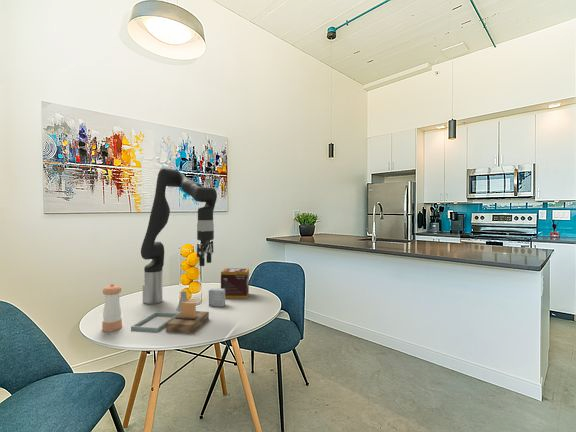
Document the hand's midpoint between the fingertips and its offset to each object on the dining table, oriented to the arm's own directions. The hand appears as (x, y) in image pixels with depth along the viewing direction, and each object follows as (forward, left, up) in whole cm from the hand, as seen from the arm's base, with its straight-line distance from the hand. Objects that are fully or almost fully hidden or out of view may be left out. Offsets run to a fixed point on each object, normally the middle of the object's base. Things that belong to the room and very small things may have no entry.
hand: (205, 264), depth 141 cm
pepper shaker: (-35, -16, -26) cm, 47 cm away
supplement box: (+2, +40, -26) cm, 48 cm away
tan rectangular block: (-3, -10, -25) cm, 27 cm away
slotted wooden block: (-3, -10, -26) cm, 28 cm away
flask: (-15, +9, -26) cm, 32 cm away
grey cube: (-2, +21, -26) cm, 34 cm away
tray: (-18, -10, -26) cm, 33 cm away
